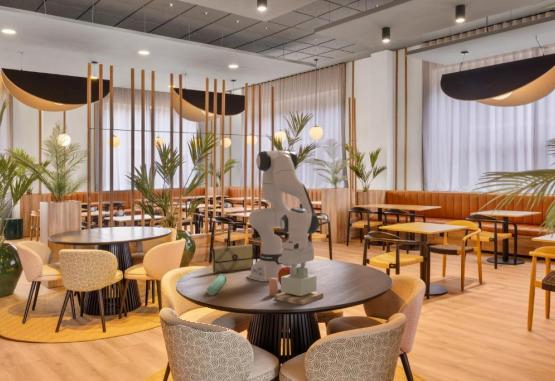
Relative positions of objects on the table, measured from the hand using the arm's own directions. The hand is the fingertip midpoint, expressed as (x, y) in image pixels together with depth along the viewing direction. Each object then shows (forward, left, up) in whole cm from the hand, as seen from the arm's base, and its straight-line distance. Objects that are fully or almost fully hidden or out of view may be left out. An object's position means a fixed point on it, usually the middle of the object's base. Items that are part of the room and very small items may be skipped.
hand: (298, 272), depth 217 cm
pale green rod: (-43, -12, -12) cm, 46 cm away
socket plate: (0, 0, -12) cm, 12 cm away
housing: (0, 0, -9) cm, 9 cm away
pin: (-13, -3, -12) cm, 18 cm away
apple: (-15, +10, -12) cm, 21 cm away
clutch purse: (-68, +26, -12) cm, 74 cm away
